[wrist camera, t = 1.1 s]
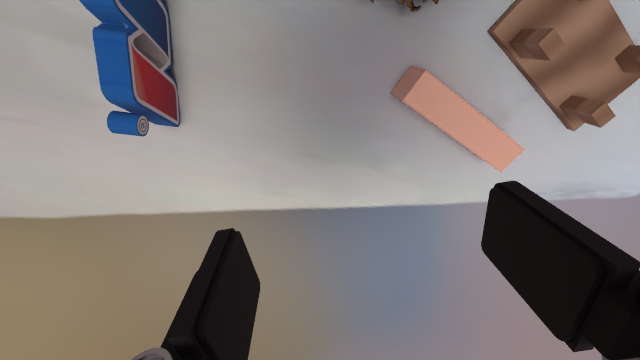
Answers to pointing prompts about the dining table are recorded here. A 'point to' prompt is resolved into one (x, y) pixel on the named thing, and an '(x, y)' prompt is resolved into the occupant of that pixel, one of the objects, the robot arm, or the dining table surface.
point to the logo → (135, 63)
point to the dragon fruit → (411, 4)
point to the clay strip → (456, 117)
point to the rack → (570, 55)
